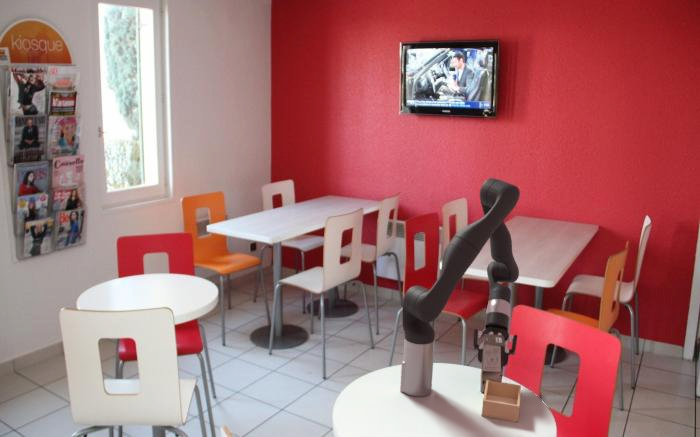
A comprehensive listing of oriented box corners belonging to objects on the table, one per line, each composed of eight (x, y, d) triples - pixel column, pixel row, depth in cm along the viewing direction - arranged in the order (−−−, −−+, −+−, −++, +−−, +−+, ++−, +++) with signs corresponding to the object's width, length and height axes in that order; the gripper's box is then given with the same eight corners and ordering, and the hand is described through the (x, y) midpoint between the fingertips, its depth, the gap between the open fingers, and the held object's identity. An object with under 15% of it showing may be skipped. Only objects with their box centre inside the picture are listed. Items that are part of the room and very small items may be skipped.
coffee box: (501, 394, 196) (505, 346, 192) (480, 392, 197) (484, 344, 194) (500, 381, 205) (504, 335, 201) (480, 378, 206) (484, 332, 202)
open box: (481, 416, 183) (483, 400, 182) (485, 394, 196) (486, 380, 195) (517, 422, 181) (519, 406, 180) (519, 400, 193) (520, 385, 192)
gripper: (475, 308, 206) (469, 356, 198) (520, 314, 202) (516, 363, 194) (475, 317, 212) (469, 364, 204) (519, 323, 209) (515, 371, 200)
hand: (492, 363), depth 199 cm, fingers closed on coffee box, 6 cm apart
